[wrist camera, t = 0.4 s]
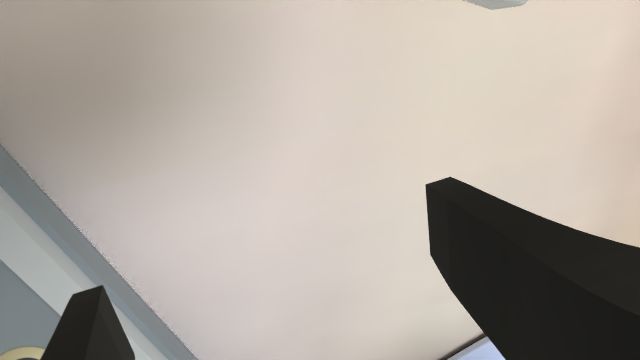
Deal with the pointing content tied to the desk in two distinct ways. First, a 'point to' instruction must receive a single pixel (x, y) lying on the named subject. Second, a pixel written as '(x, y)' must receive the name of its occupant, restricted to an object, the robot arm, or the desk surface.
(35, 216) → the hole board
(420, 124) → the desk surface
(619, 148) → the desk surface
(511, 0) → the grey upright panel
